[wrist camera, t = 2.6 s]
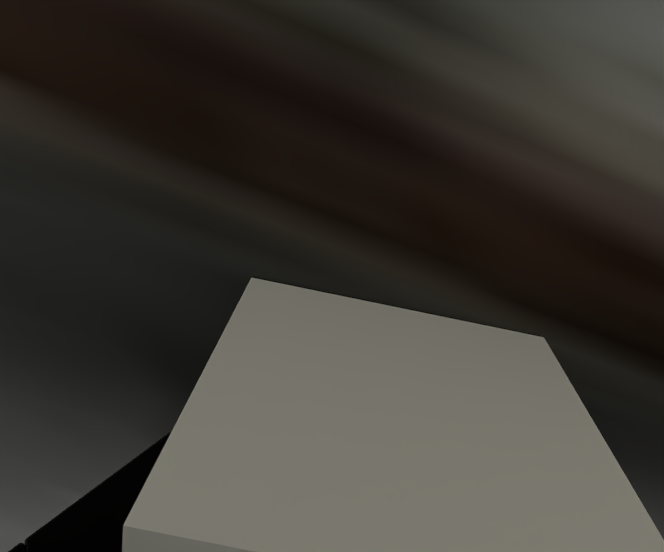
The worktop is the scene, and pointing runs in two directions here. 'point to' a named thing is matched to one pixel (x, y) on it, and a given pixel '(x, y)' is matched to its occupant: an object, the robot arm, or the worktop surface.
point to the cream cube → (382, 441)
